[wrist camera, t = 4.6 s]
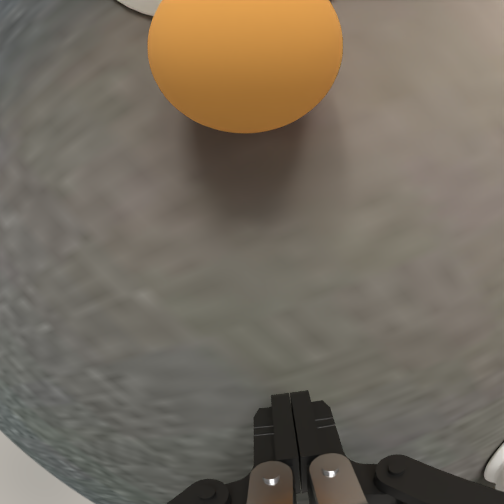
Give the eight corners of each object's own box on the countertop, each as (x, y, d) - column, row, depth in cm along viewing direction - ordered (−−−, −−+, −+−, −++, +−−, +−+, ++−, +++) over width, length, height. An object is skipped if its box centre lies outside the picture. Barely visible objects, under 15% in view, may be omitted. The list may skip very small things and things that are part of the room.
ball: (136, -9, 8) (81, 40, 5) (290, -64, 6) (350, -57, 3) (199, 99, 12) (194, 196, 9) (328, 59, 11) (382, 143, 8)
